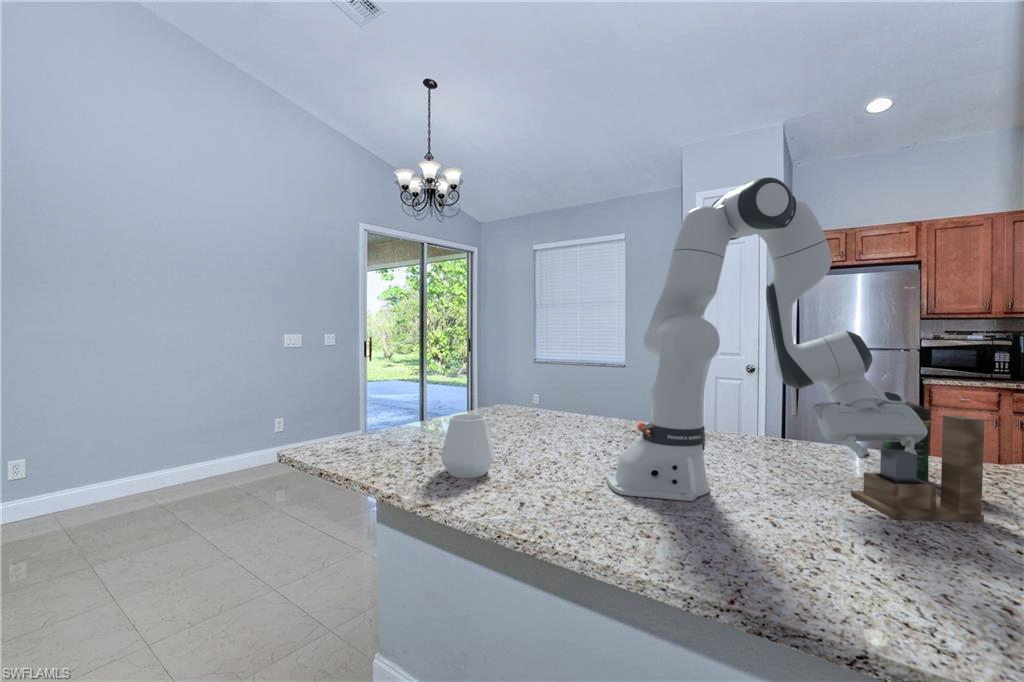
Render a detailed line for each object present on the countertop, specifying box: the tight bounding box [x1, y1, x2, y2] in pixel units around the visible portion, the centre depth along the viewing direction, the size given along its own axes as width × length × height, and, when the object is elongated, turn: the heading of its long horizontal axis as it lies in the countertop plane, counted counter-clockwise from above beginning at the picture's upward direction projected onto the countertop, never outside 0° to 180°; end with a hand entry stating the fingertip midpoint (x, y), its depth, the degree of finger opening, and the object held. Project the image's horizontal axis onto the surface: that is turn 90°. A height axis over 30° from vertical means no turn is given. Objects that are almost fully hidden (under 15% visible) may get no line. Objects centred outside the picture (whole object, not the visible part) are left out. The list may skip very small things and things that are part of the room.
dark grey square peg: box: [879, 449, 917, 484], centre depth 92 cm, size 4×4×10 cm
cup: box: [440, 413, 496, 479], centre depth 114 cm, size 13×13×14 cm
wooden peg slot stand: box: [850, 414, 986, 523], centre depth 91 cm, size 16×12×19 cm
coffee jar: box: [881, 401, 931, 483], centre depth 110 cm, size 10×8×19 cm
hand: (888, 457), depth 95 cm, fingers open, 8 cm apart
